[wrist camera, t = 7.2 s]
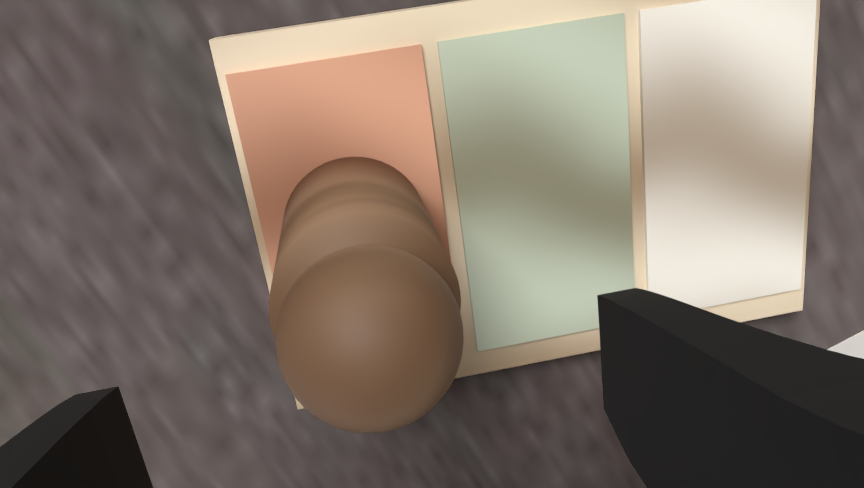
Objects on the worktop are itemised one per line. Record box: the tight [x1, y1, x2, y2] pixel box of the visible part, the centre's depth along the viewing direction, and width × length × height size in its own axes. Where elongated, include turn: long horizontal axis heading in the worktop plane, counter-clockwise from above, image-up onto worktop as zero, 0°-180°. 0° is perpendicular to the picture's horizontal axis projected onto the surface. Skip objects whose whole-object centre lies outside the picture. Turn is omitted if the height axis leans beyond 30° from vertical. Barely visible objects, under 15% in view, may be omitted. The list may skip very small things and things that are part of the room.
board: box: [209, 0, 820, 409], centre depth 19 cm, size 10×15×1 cm, turn 98°
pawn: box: [269, 157, 464, 433], centre depth 14 cm, size 4×4×8 cm
